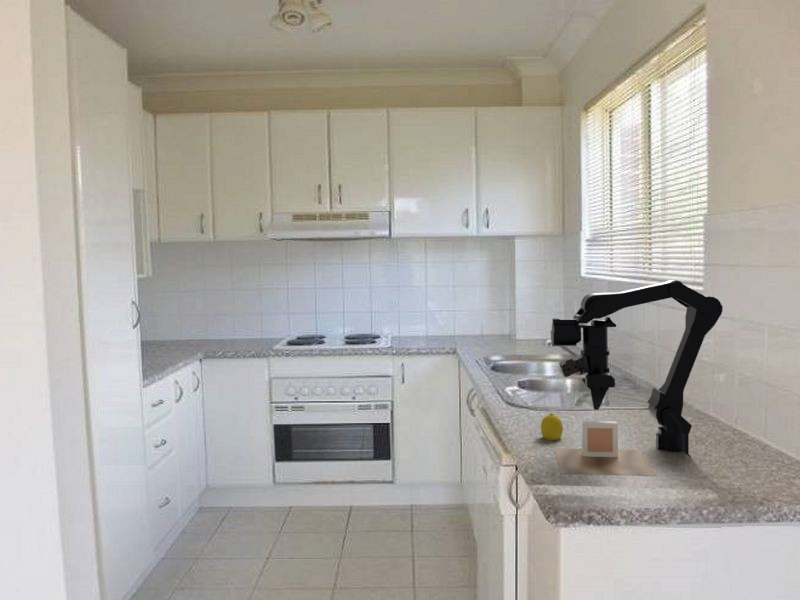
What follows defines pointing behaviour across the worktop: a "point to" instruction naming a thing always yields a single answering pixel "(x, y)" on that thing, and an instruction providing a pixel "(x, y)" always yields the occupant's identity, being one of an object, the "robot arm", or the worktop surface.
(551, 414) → the lemon
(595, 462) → the board
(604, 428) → the block
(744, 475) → the worktop surface
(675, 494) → the worktop surface
